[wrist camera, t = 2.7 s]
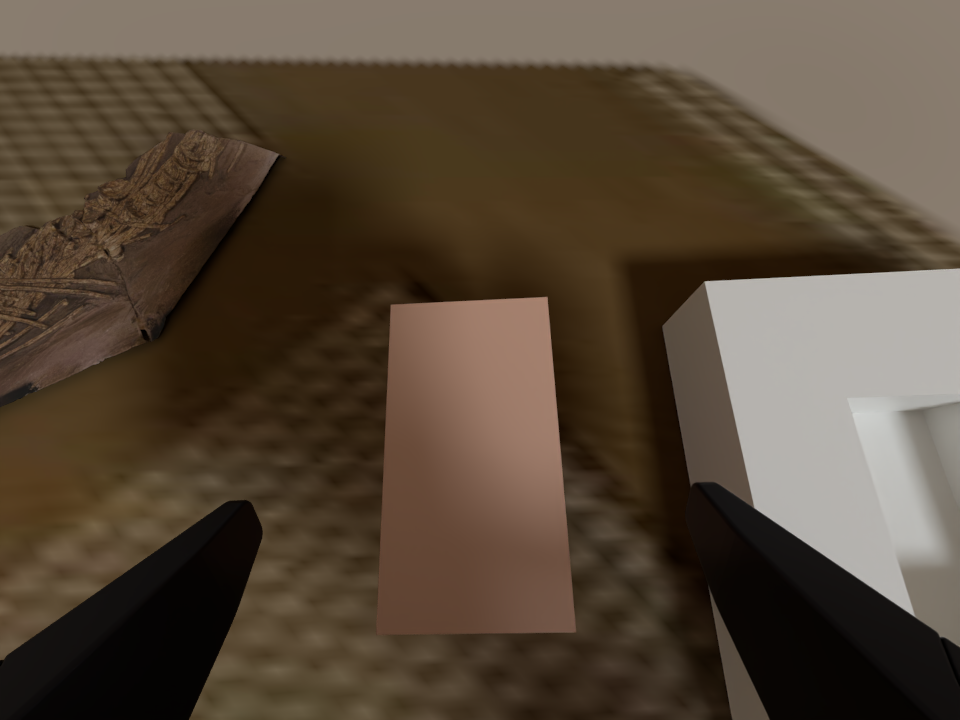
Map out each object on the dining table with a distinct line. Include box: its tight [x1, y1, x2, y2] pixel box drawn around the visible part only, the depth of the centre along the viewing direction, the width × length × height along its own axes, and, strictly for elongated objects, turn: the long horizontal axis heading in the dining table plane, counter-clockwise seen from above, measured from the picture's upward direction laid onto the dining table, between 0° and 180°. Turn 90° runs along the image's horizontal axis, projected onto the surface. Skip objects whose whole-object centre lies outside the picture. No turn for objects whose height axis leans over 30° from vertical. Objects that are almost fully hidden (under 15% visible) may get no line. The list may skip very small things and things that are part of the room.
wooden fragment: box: [0, 130, 286, 407], centre depth 20 cm, size 26×11×1 cm, turn 131°
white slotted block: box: [662, 269, 960, 720], centre depth 13 cm, size 16×12×4 cm
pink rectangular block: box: [376, 297, 576, 635], centre depth 12 cm, size 6×3×10 cm, turn 2°
